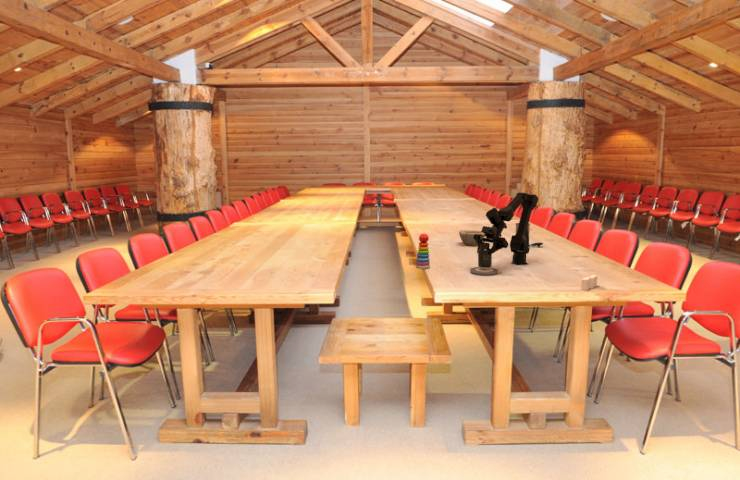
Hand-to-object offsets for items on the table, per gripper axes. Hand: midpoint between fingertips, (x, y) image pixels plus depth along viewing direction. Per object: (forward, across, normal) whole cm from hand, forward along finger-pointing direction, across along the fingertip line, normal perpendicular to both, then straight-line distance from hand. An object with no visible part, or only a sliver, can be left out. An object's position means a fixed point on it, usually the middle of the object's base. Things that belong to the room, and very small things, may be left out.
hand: (483, 253), depth 278 cm
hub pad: (+6, 0, +8) cm, 10 cm away
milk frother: (-52, -26, +68) cm, 89 cm away
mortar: (-36, -55, +52) cm, 84 cm away
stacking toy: (+16, -30, -2) cm, 34 cm away
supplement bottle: (+4, 0, +6) cm, 7 cm away
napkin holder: (+1, +51, +14) cm, 53 cm away
